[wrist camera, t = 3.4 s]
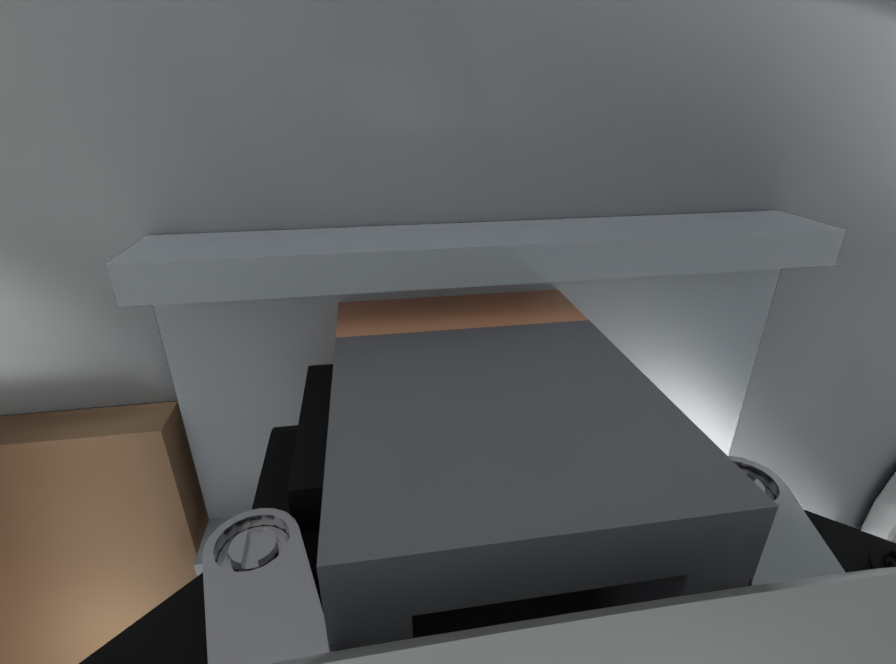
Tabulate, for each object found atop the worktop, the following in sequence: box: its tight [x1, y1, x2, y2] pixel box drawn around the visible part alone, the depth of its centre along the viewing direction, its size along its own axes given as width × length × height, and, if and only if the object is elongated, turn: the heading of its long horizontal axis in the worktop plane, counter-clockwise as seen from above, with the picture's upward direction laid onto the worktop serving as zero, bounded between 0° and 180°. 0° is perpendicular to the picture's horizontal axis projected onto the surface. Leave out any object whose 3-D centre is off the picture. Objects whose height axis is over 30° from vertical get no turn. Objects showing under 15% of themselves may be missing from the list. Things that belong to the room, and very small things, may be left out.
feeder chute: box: [105, 210, 847, 576], centre depth 12 cm, size 14×8×2 cm, turn 89°
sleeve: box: [316, 289, 779, 652], centre depth 10 cm, size 5×5×7 cm
